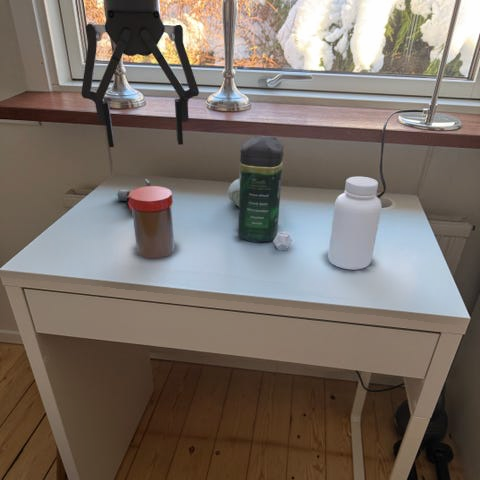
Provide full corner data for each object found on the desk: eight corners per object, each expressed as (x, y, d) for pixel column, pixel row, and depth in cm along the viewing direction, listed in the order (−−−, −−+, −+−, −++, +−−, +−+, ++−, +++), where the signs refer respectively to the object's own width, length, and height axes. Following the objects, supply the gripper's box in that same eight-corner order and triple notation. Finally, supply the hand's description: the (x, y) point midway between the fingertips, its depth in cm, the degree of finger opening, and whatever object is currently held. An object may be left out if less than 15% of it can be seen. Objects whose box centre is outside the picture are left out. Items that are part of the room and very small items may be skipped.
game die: (289, 253, 88) (290, 239, 87) (270, 250, 89) (271, 236, 88) (292, 245, 91) (294, 231, 89) (274, 242, 92) (275, 228, 90)
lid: (130, 213, 80) (128, 202, 78) (129, 197, 85) (128, 187, 84) (174, 210, 81) (173, 200, 80) (170, 194, 87) (170, 185, 86)
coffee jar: (274, 245, 91) (281, 148, 80) (234, 241, 92) (236, 144, 81) (280, 225, 99) (287, 134, 88) (243, 222, 100) (245, 131, 89)
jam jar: (137, 260, 85) (130, 204, 79) (136, 243, 91) (130, 190, 84) (175, 257, 86) (172, 202, 80) (172, 240, 92) (169, 188, 86)
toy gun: (117, 197, 110) (115, 177, 107) (167, 200, 109) (166, 179, 106) (104, 213, 102) (100, 192, 99) (158, 216, 101) (156, 195, 98)
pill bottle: (343, 246, 91) (356, 170, 82) (378, 261, 87) (396, 182, 78) (318, 259, 87) (329, 180, 78) (354, 275, 82) (370, 193, 73)
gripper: (38, -25, 59) (72, 153, 72) (216, -21, 63) (218, 147, 76) (46, -24, 65) (76, 140, 78) (208, -20, 69) (211, 135, 82)
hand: (146, 143), depth 77 cm, fingers open, 10 cm apart
